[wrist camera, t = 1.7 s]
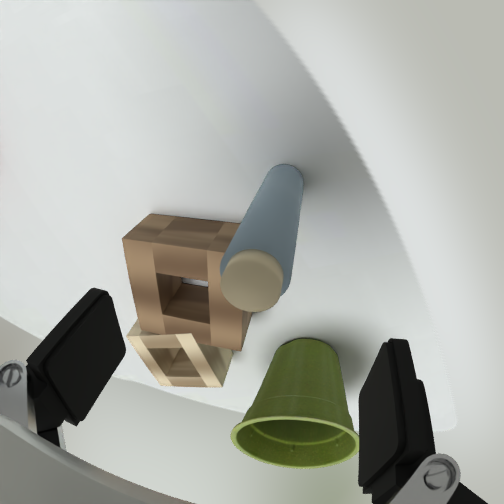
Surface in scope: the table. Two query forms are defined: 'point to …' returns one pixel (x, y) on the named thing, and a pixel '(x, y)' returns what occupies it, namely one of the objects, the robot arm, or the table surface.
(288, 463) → the plant pot
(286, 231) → the blue capped cylinder
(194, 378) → the pale wooden square holder
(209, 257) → the wooden square frame
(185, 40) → the table surface
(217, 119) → the table surface
